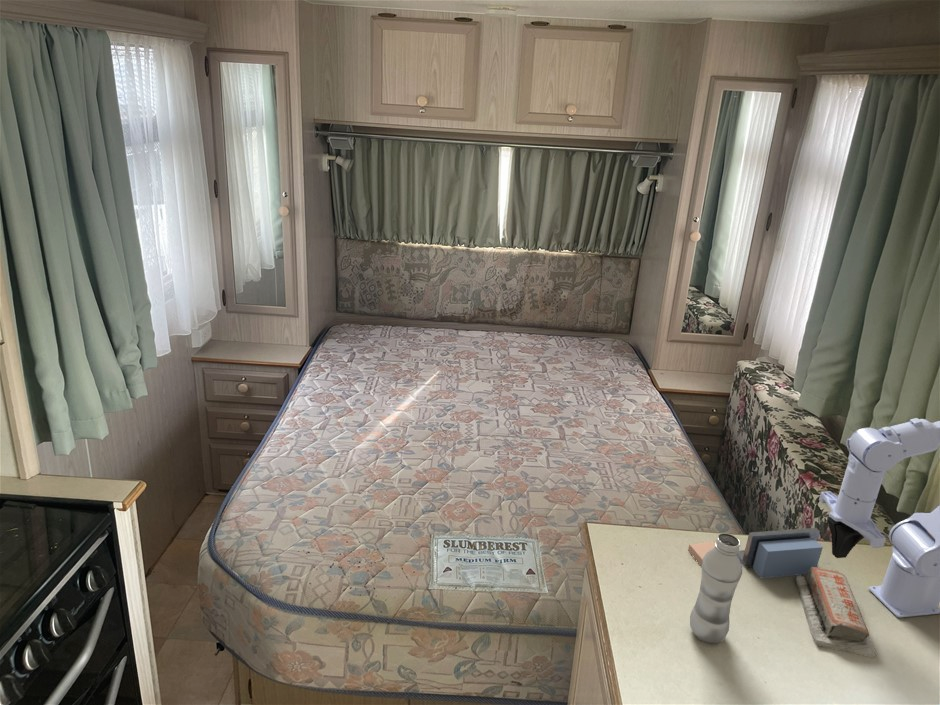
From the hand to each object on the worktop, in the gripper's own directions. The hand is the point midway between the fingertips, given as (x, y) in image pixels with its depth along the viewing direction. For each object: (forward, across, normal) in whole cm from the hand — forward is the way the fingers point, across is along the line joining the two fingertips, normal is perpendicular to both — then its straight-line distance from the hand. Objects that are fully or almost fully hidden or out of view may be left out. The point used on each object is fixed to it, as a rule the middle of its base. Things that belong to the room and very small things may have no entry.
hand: (839, 555), depth 127 cm
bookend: (+10, -12, -3) cm, 16 cm away
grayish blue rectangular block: (+10, -8, -3) cm, 14 cm away
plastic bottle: (+10, +6, -28) cm, 30 cm away
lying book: (+10, -14, -16) cm, 24 cm away
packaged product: (+11, +4, -2) cm, 12 cm away
